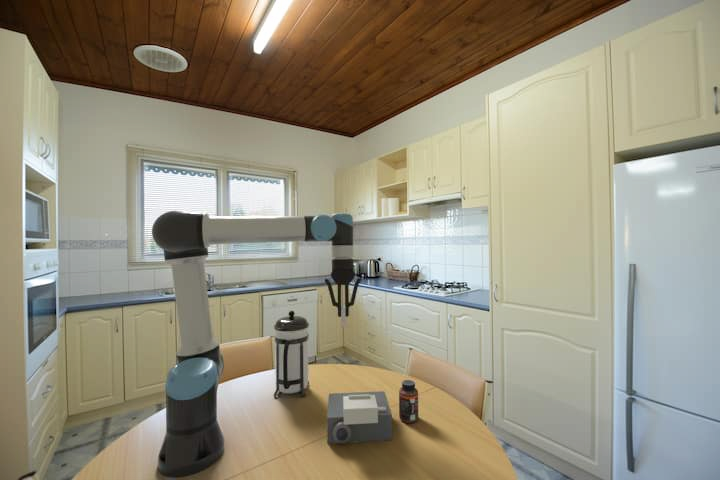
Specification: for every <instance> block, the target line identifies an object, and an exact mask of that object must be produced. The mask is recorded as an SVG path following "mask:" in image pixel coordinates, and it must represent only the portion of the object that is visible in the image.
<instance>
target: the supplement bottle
mask: <svg viewBox="0 0 720 480" xmlns="http://www.w3.org/2000/svg"><path fill="white" fill-rule="evenodd" d="M398 407H399V408H398V409H399V410H398V414H399V420H400V421H402V422H403V423H406V424H413V423H416V422H418V420H419V391H418V389H417V387H416V383H415V381H414V380H411V379H405V380H403V381H402V382H401V387H400V388H399V391H398Z"/></svg>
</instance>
